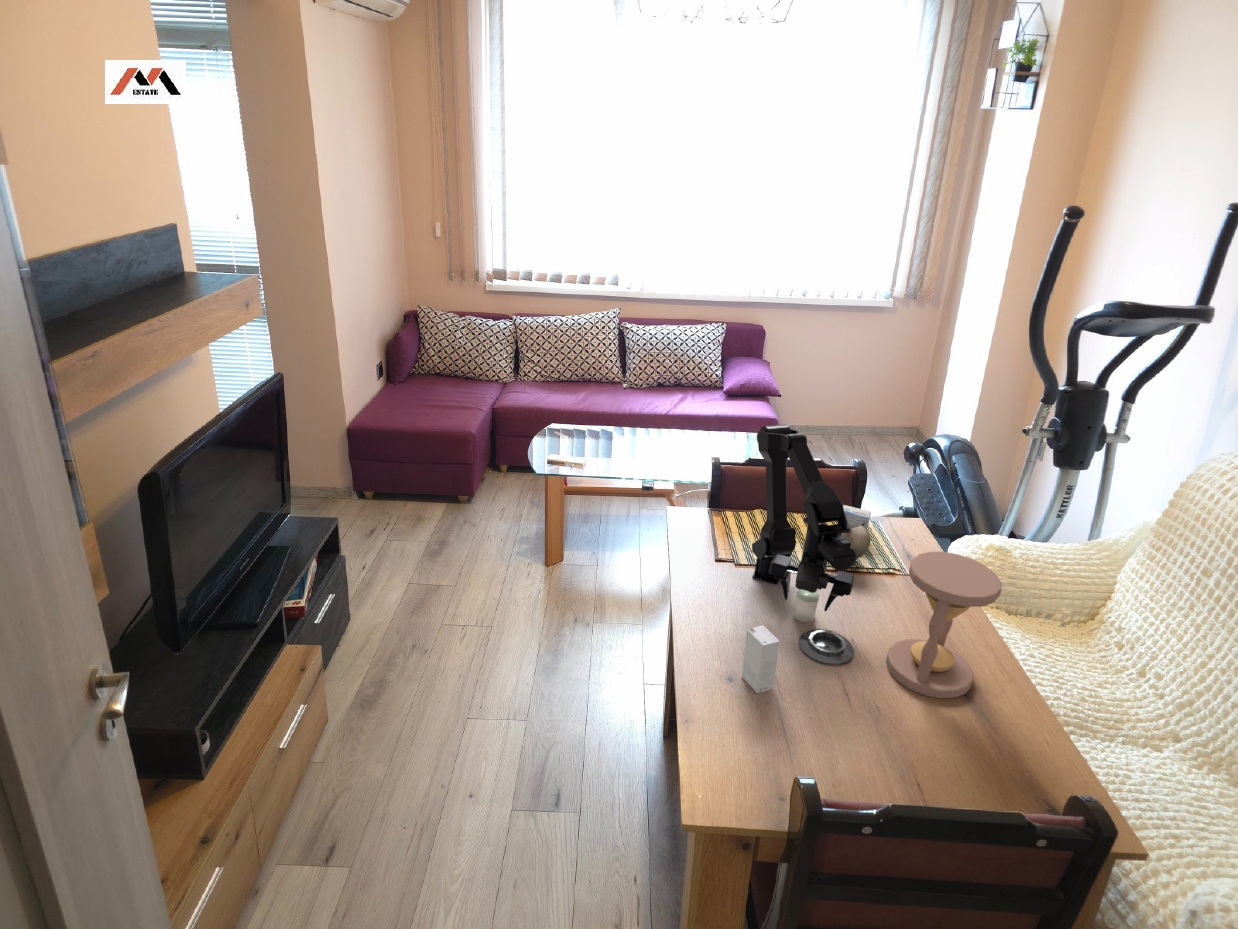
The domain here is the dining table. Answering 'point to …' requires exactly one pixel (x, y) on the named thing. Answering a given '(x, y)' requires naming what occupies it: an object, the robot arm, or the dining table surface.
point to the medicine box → (857, 515)
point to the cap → (805, 605)
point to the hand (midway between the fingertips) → (805, 604)
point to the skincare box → (760, 659)
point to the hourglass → (942, 623)
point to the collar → (826, 647)
